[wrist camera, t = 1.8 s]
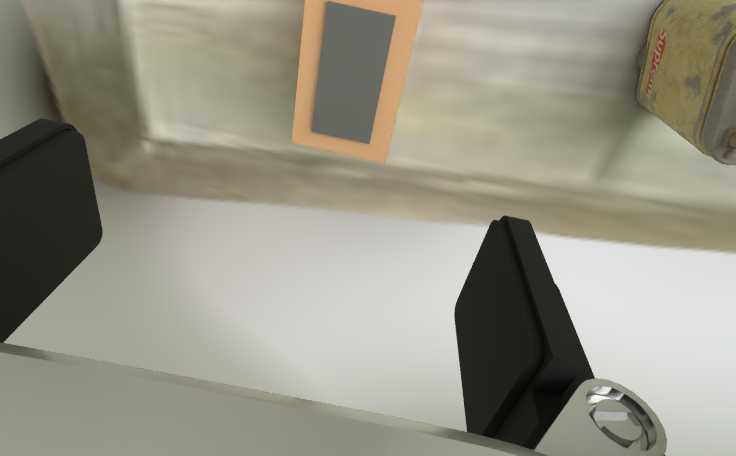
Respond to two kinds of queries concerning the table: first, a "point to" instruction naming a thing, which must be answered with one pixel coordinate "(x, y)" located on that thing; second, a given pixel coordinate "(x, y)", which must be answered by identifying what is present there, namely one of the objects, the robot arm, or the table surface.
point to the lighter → (693, 73)
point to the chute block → (352, 74)
